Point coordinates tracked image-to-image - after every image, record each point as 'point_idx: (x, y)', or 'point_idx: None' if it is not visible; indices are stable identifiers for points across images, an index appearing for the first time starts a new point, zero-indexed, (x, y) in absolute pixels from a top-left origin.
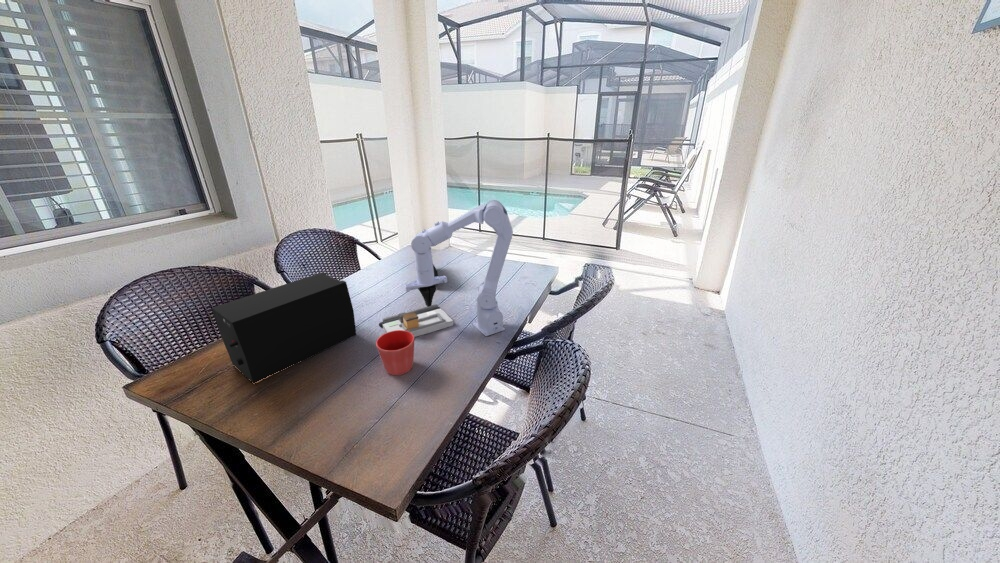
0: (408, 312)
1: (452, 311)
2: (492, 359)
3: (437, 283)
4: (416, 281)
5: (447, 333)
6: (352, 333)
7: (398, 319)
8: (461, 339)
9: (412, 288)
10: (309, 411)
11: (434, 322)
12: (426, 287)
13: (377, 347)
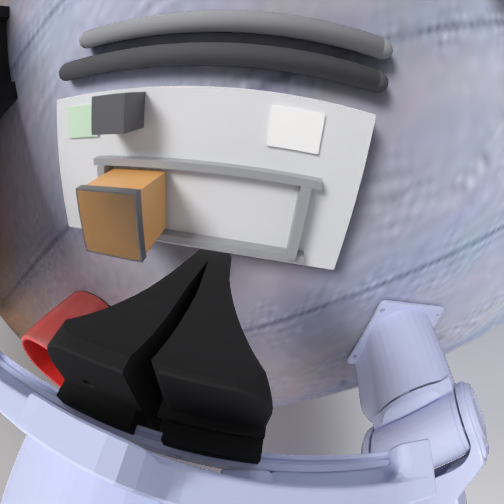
0: (196, 23)
1: (417, 147)
2: (283, 402)
3: (299, 465)
4: (14, 412)
5: (271, 285)
6: (3, 108)
7: (126, 67)
8: (285, 334)
9: (21, 384)
10: (6, 297)
11: (242, 250)
12: (152, 427)
13: (31, 358)
